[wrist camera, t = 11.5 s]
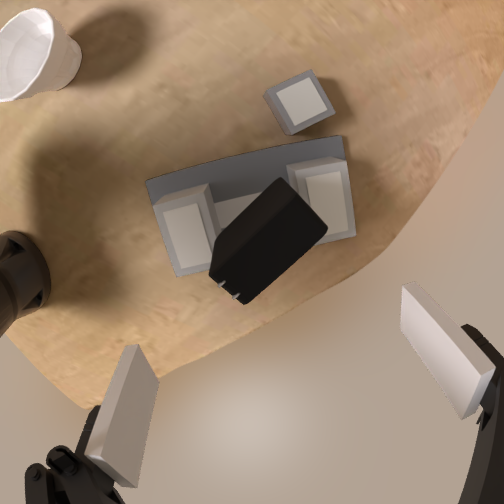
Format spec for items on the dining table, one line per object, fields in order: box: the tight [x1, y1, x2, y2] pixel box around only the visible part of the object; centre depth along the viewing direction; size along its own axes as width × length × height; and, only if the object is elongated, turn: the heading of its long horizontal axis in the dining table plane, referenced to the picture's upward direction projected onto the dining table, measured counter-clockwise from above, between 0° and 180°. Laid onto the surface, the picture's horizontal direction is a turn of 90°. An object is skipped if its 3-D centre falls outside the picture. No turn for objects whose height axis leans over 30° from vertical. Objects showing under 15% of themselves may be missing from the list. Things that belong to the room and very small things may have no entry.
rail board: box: [145, 135, 356, 277], centre depth 37 cm, size 26×14×8 cm, turn 103°
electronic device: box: [209, 177, 328, 305], centre depth 29 cm, size 4×10×10 cm, turn 135°
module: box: [263, 69, 336, 135], centre depth 33 cm, size 6×6×5 cm
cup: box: [0, 8, 82, 102], centre depth 25 cm, size 12×12×11 cm
